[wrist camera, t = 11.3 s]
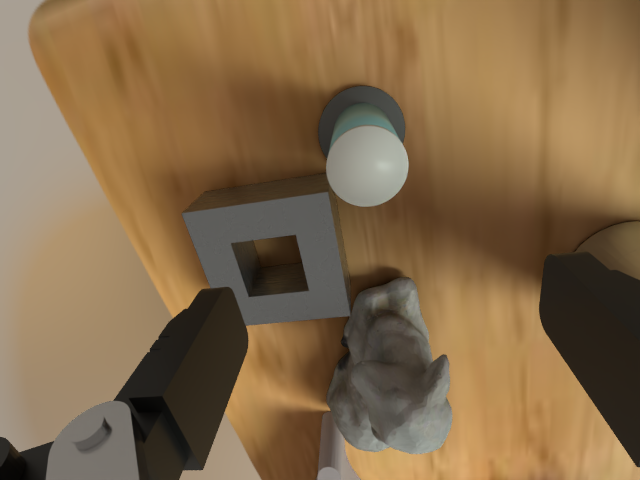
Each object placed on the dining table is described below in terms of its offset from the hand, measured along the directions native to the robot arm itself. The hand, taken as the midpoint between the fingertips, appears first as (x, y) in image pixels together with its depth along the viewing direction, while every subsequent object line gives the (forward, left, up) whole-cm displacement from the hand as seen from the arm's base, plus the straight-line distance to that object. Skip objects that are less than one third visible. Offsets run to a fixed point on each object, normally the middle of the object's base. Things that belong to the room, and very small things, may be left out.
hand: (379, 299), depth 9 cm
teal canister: (0, 0, -22) cm, 22 cm away
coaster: (0, 0, -23) cm, 23 cm away
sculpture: (+2, +24, -23) cm, 33 cm away
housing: (+9, +9, -23) cm, 26 cm away
